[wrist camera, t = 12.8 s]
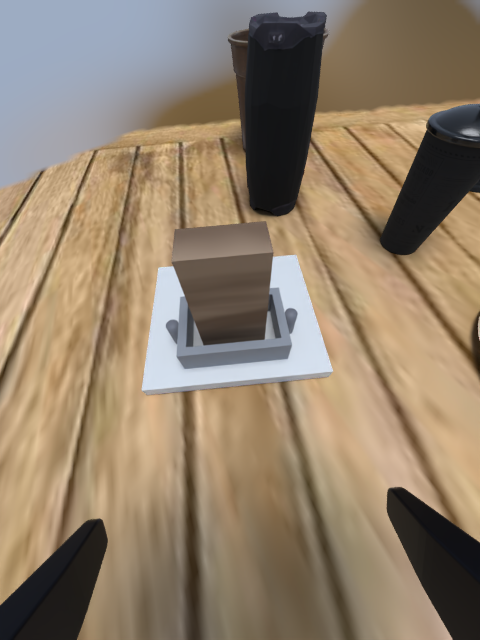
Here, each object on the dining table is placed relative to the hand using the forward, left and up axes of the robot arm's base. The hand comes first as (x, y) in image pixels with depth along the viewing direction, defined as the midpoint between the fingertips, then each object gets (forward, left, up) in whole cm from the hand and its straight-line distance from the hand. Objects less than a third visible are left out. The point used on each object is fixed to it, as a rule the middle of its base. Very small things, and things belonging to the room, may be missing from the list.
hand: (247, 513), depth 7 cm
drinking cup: (+35, -8, -14) cm, 38 cm away
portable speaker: (+38, +12, -14) cm, 42 cm away
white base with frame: (+14, +8, -14) cm, 21 cm away
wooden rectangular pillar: (+11, +7, -12) cm, 18 cm away
